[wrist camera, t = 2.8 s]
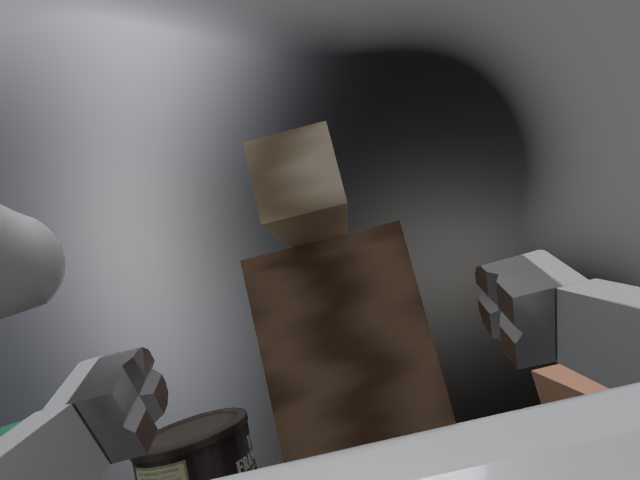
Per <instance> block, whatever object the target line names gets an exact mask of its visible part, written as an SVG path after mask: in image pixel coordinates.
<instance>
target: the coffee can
mask: <svg viewBox="0 0 640 480" xmlns="http://www.w3.org/2000/svg"><path fill="white" fill-rule="evenodd" d="M247 420H248V416H247V411H246V410H245V409H242V408H225V409H219V410H214V411H210V412H206V413H202V414H199V415H195V416H192V417H189V418H186V419H183V420H180V421H178V422H175V423H173V424H170V425H168V426H165V427H163V428H161V429H158V430H157V432H156V435H155V437H154V440H153V442H152V445H151V447H150V450H149V452H148V454H147V455H144V456H140V457H136V458H132V459H130V461H131V462H132V465H133V471H134V477H135V480H211V479H216V478H220V477H224V476H229V475H233V474H238V473H242V472H246V471H251V470H255V469H257V466H256V461H255V456H254V452H253V447H252V441H251V437H250V433H249V427H248V422H247Z"/></svg>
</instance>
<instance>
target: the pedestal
mask: <svg viewBox="0 0 640 480" xmlns="http://www.w3.org/2000/svg"><path fill="white" fill-rule="evenodd" d="M531 372H532V375H533V378H534V381H535V384H536V388H537V391H538V394H539V397H540V401H541V403H542V404H546V403H550V402H555V401H559V400H563V399H568V398H572V397H577V396H581V395H585V394H590V393H594V392H598V391H603V390H607V389H609V388H607V387H605V386H603V385H601V384H599V383H597V382H595V381H593V380H591V379H589V378H587V377H585V376H583V375H581V374H579V373H577V372H575V371H573V370H571V369H569V368H567V367H565V366H563V365H561V364H557V365H553V366H549V367H544V368H540V369H536V370H532V371H531Z"/></svg>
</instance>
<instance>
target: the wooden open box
mask: <svg viewBox="0 0 640 480" xmlns="http://www.w3.org/2000/svg"><path fill="white" fill-rule="evenodd" d="M241 266H242V270H243V275H244V279H245V284H246V289H247V293H248V298H249V303H250V307H251V312H252V316H253V320H254V326H255V331H256V335H257V340H258V344H259V349H260V354H261V358H262V363H263V368H264V372H265V377H266V382H267V386H268V390H269V395H270V400H271V404H272V409H273V414H274V419H275V423H276V428H277V432H278V437H279V442H280V446H281V451H282V455H283V460H284V463H286V462H291V461H295V460H299V459H304V458H308V457H313V456H317V455H321V454H326V453H330V452H334V451H339V450H343V449H347V448H352V447H356V446H361V445H365V444H369V443H374V442H378V441H383V440H387V439H391V438H396V437H400V436H405V435H409V434H413V433H418V432H422V431H427V430H431V429H435V428H440V427H444V426H449V425H453V424H456V422H455V419H454V415H453V411H452V408H451V404H450V400H449V397H448V393H447V390H446V386H445V383H444V379H443V375H442V372H441V368H440V365H439V361H438V357H437V354H436V350H435V346H434V343H433V339H432V336H431V332H430V329H429V325H428V321H427V318H426V314H425V311H424V307H423V304H422V300H421V296H420V293H419V289H418V285H417V282H416V278H415V275H414V271H413V268H412V264H411V260H410V257H409V253H408V249H407V246H406V242H405V239H404V235H403V232H402V228H401V224H400V221H395V222H392V223H388V224H384V225H379V226H375V227H371V228H367V229H364V230H360V231H356V232H352V233H348V234H344V235H340V236H336V237H332V238H328V239H324V240H320V241H316V242H312V243H308V244H304V245H300V246H296V247H292V248H288V249H285V250H281V251H276V252H273V253H269V254H264V255H260V256H256V257H253V258H249V259H245V260H241Z"/></svg>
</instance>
